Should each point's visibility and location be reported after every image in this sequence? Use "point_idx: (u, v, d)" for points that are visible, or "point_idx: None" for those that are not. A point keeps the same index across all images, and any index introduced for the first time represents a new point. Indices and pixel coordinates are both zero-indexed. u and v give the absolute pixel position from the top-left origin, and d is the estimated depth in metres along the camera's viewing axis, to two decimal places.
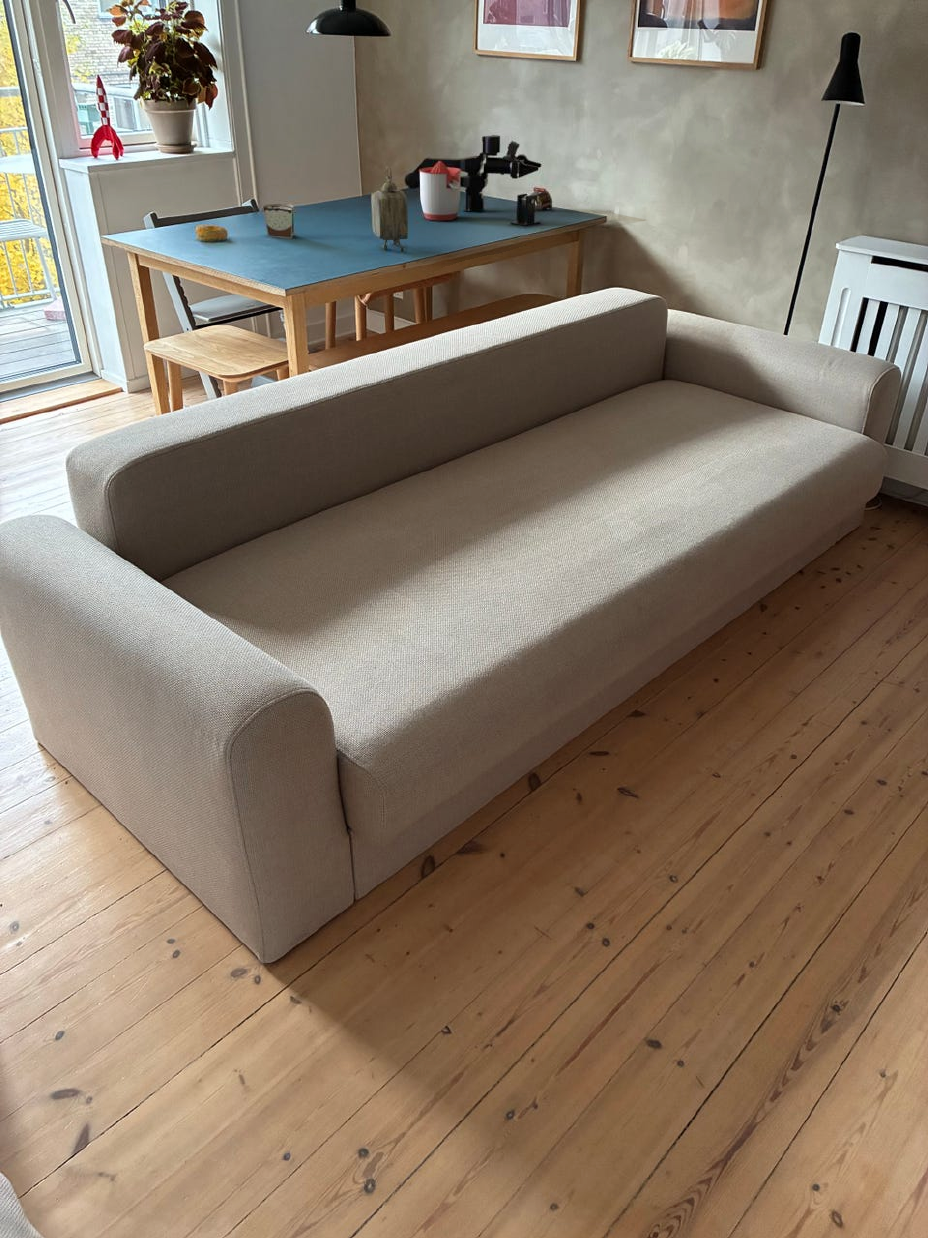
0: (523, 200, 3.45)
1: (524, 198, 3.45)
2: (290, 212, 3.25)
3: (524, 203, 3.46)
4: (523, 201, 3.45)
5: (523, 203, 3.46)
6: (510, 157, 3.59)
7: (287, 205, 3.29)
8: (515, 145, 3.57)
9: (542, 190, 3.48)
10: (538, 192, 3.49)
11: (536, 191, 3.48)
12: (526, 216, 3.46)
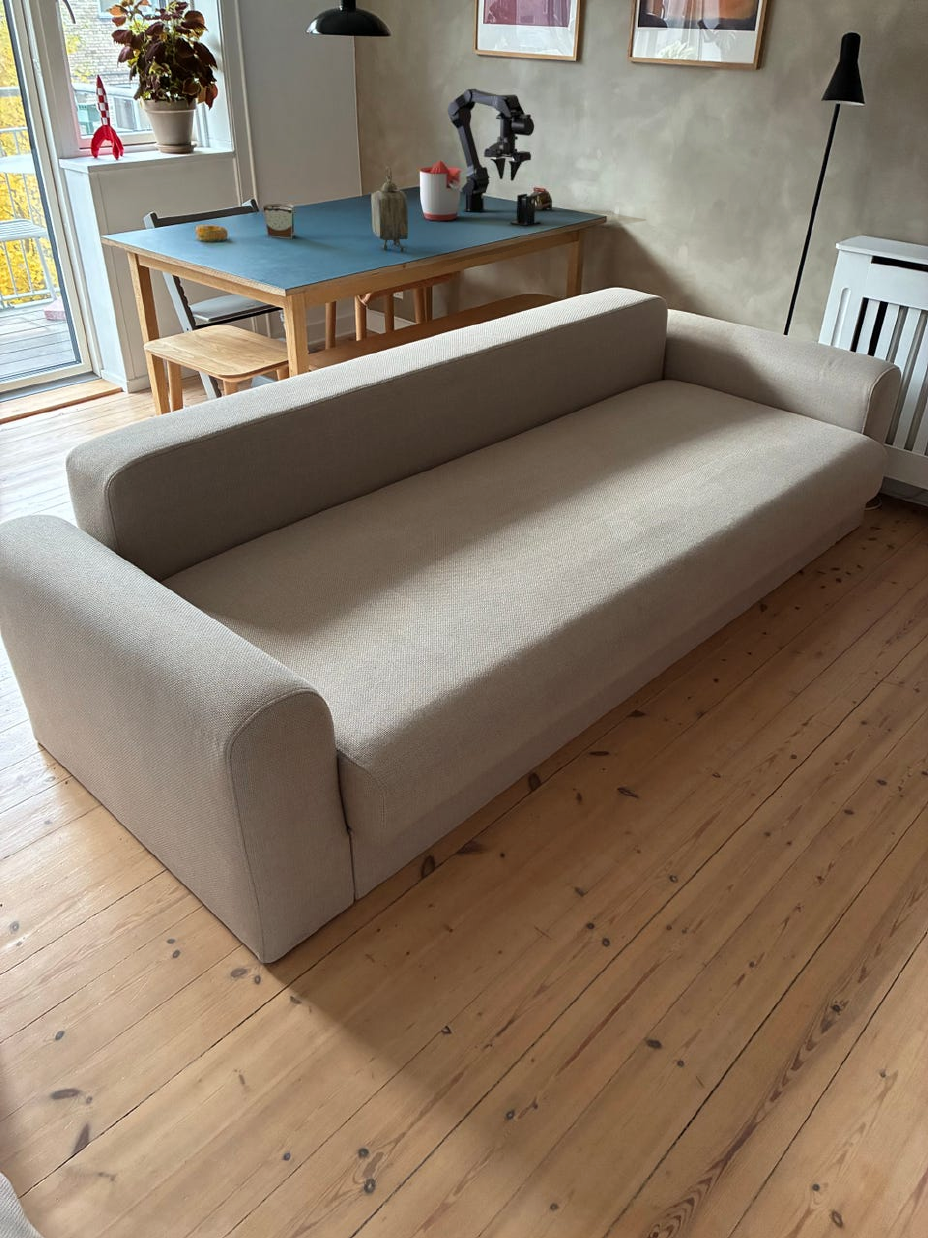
0: (523, 200, 3.45)
1: (524, 198, 3.45)
2: (290, 212, 3.25)
3: (524, 203, 3.46)
4: (523, 201, 3.45)
5: (523, 203, 3.46)
6: None
7: (287, 205, 3.29)
8: (489, 153, 3.49)
9: (542, 190, 3.48)
10: (538, 192, 3.49)
11: (536, 191, 3.48)
12: (526, 216, 3.46)
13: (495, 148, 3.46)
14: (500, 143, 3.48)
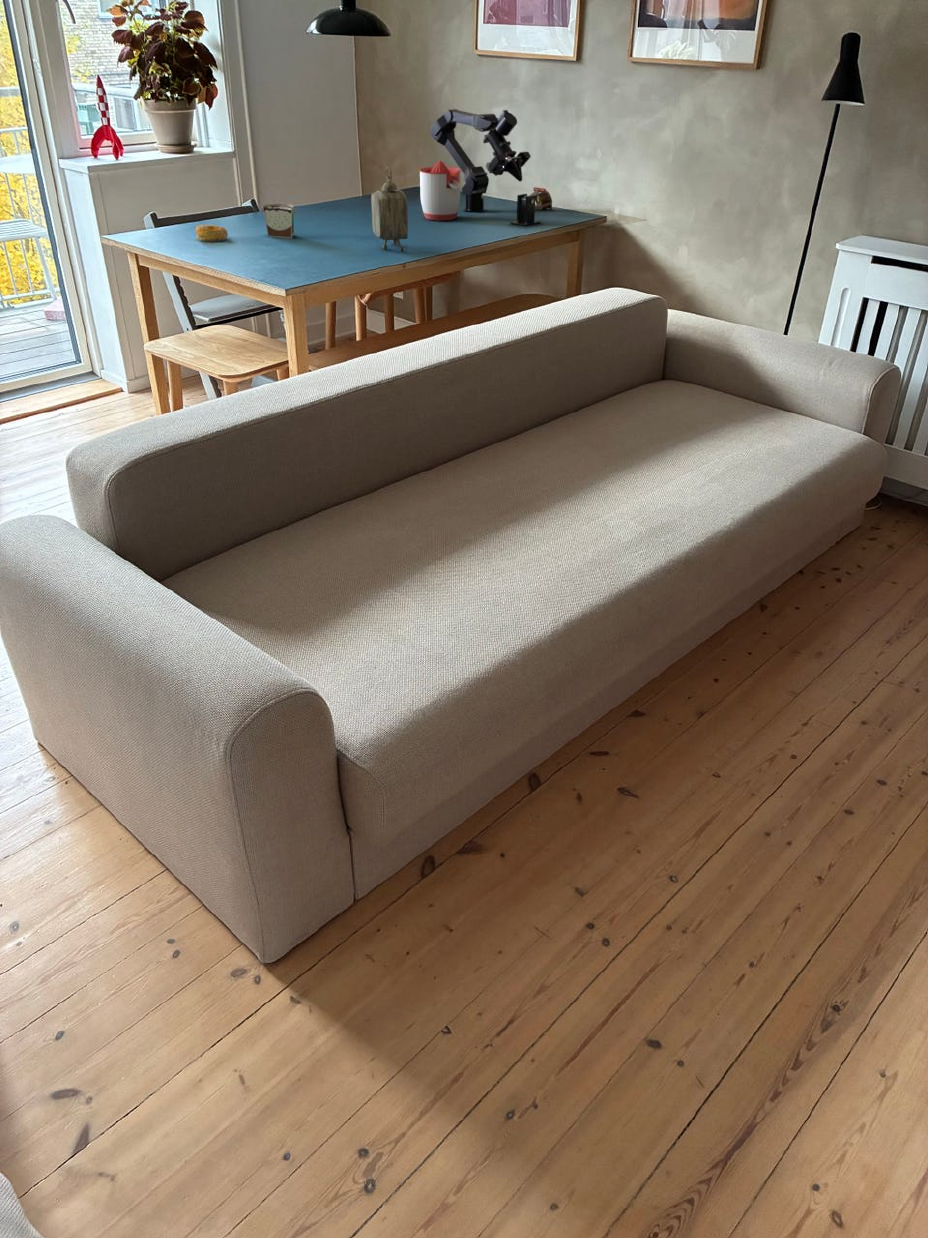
0: (523, 200, 3.45)
1: (524, 198, 3.45)
2: (290, 212, 3.25)
3: (524, 203, 3.46)
4: (523, 201, 3.45)
5: (523, 203, 3.46)
6: None
7: (287, 205, 3.29)
8: None
9: (542, 190, 3.48)
10: (538, 192, 3.49)
11: (536, 191, 3.48)
12: (526, 216, 3.46)
13: None
14: None
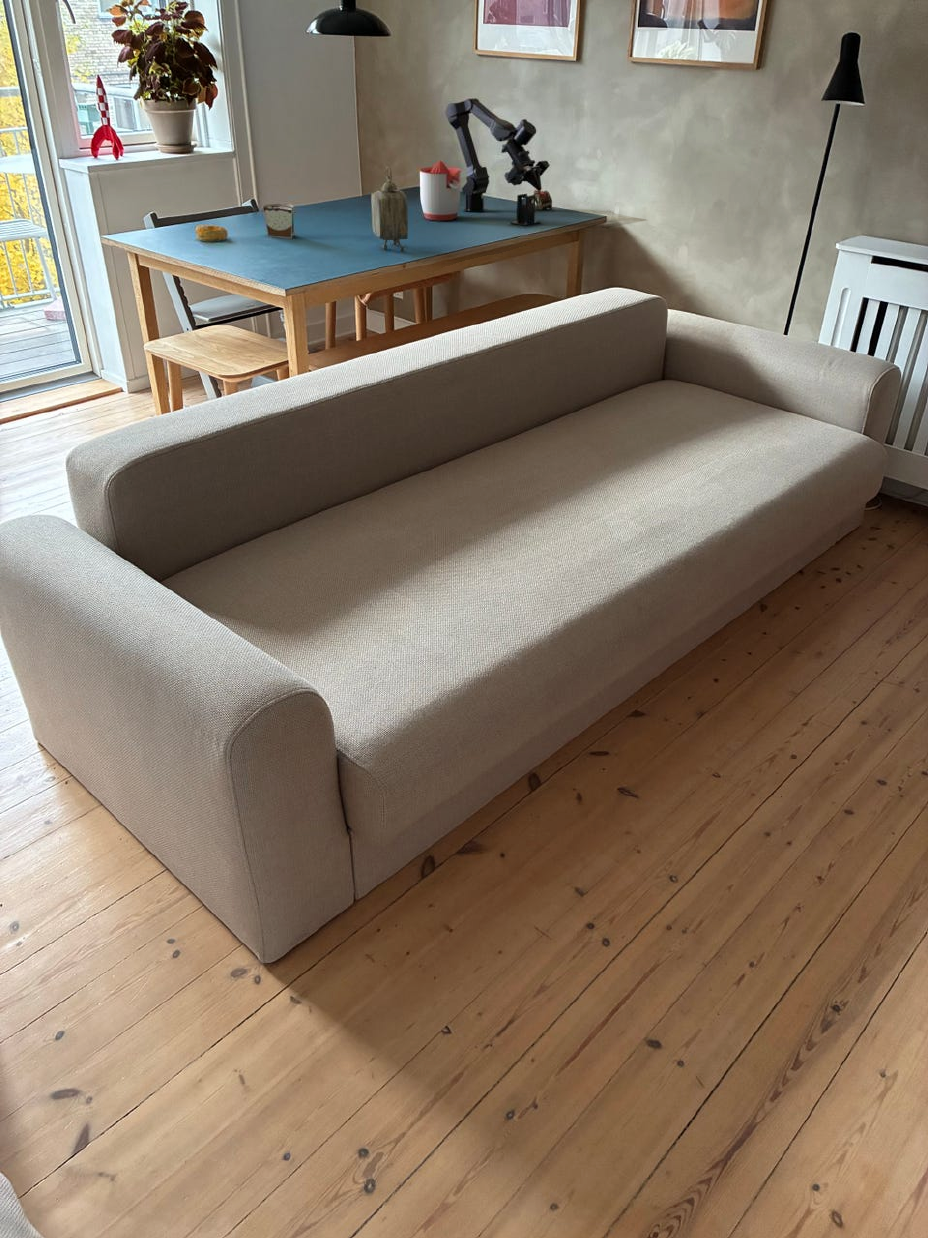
0: (523, 199, 3.45)
1: (524, 197, 3.45)
2: (290, 212, 3.25)
3: (524, 203, 3.46)
4: (523, 200, 3.45)
5: (523, 203, 3.46)
6: None
7: (287, 205, 3.29)
8: None
9: (542, 193, 3.49)
10: (538, 195, 3.49)
11: (536, 193, 3.48)
12: (526, 216, 3.46)
13: None
14: None
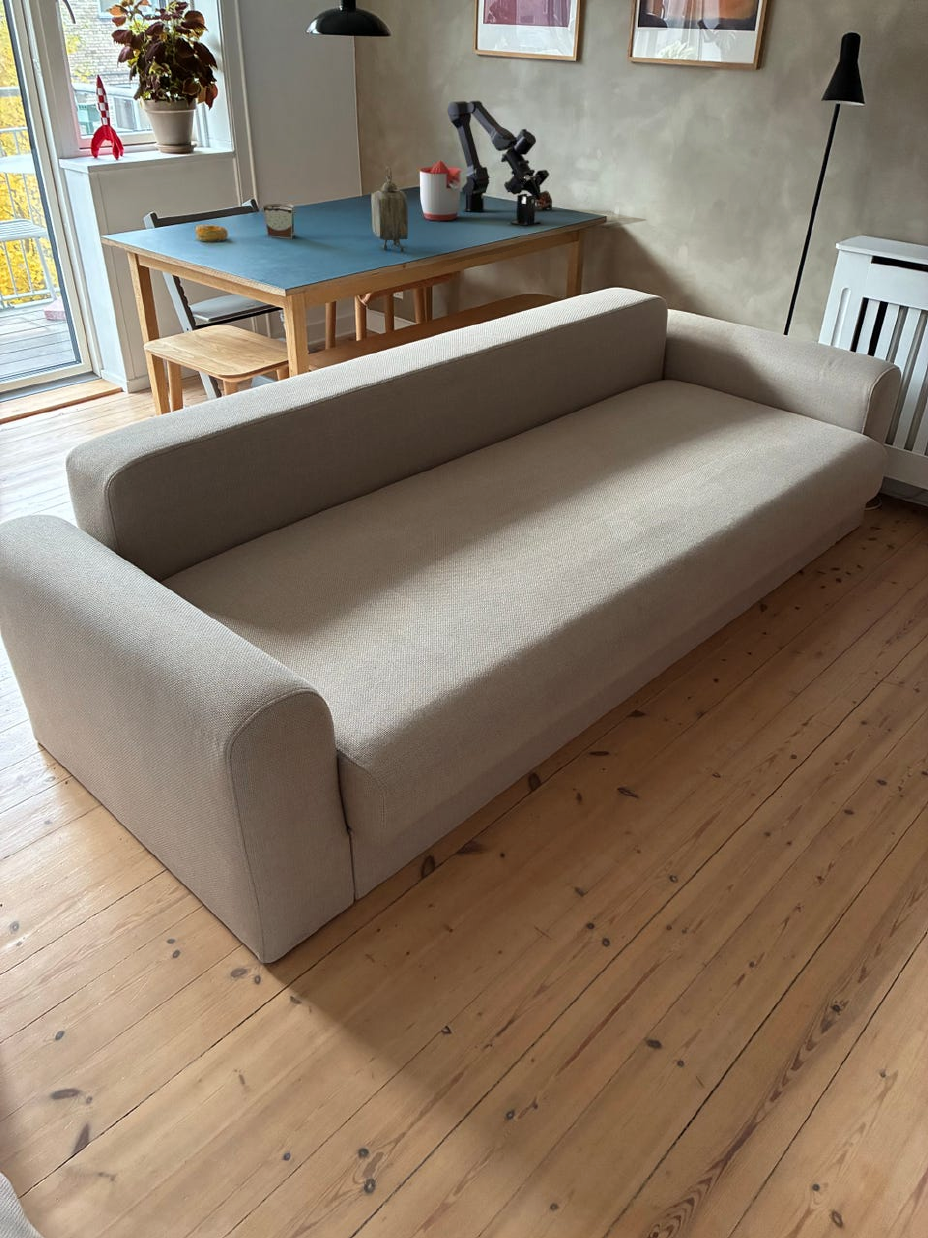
0: (524, 198, 3.45)
1: None
2: (290, 212, 3.25)
3: (524, 201, 3.45)
4: (523, 199, 3.45)
5: (522, 201, 3.46)
6: None
7: (287, 205, 3.29)
8: None
9: (542, 201, 3.50)
10: (538, 202, 3.51)
11: (536, 200, 3.50)
12: (526, 216, 3.46)
13: None
14: None
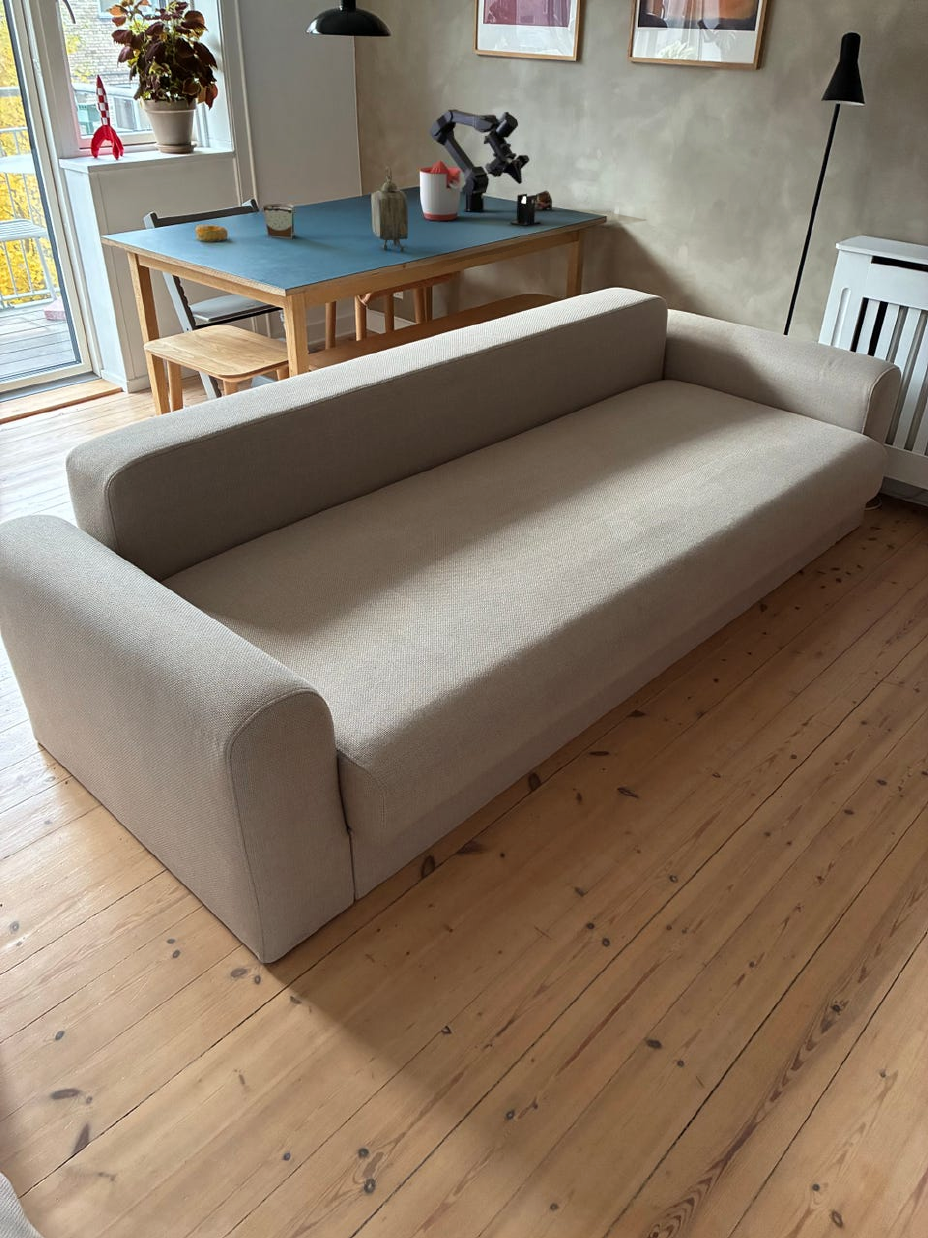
0: (524, 197, 3.45)
1: (525, 196, 3.45)
2: (290, 212, 3.25)
3: (524, 201, 3.45)
4: (523, 198, 3.45)
5: (522, 201, 3.45)
6: None
7: (287, 205, 3.29)
8: None
9: (542, 203, 3.51)
10: (537, 204, 3.51)
11: None
12: (526, 216, 3.46)
13: None
14: None
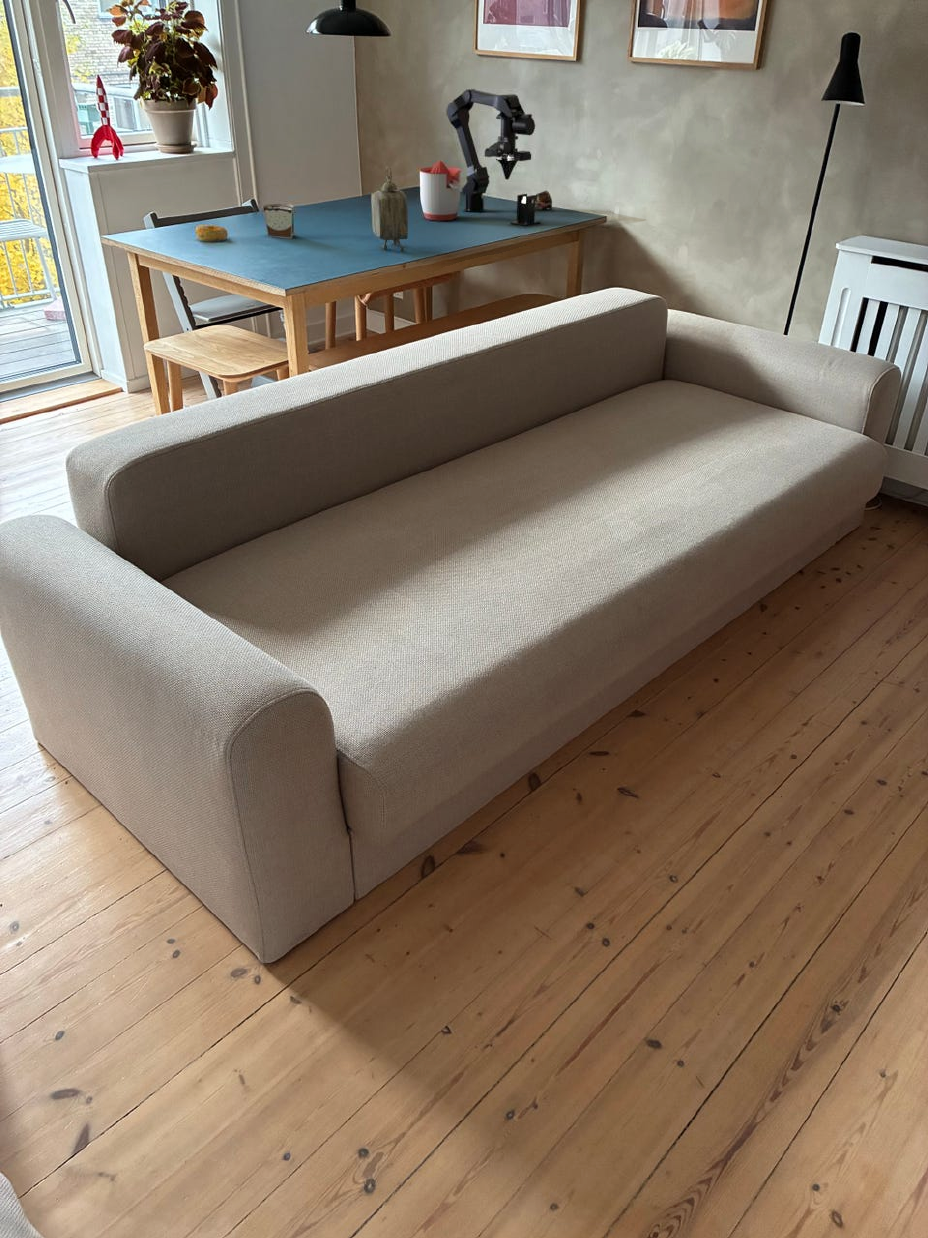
0: (524, 197, 3.45)
1: (525, 196, 3.45)
2: (290, 212, 3.25)
3: (524, 201, 3.45)
4: (523, 198, 3.45)
5: (522, 201, 3.45)
6: None
7: (287, 205, 3.29)
8: (490, 153, 3.50)
9: (542, 203, 3.51)
10: (537, 204, 3.51)
11: None
12: (526, 216, 3.46)
13: (495, 148, 3.47)
14: (500, 143, 3.49)
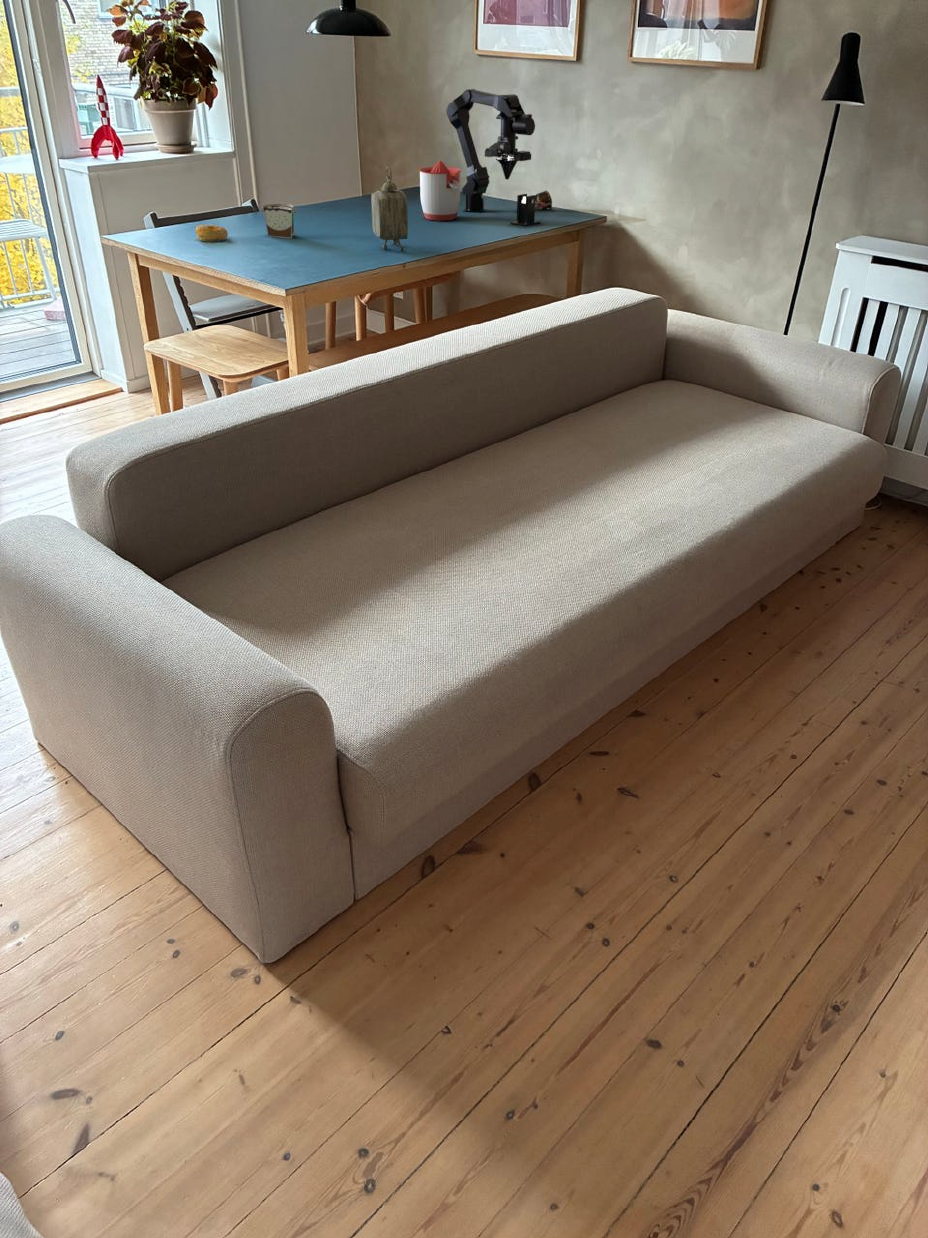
0: (524, 197, 3.45)
1: (525, 196, 3.45)
2: (290, 212, 3.25)
3: (524, 201, 3.45)
4: (523, 198, 3.45)
5: (522, 201, 3.45)
6: None
7: (287, 205, 3.29)
8: (490, 153, 3.50)
9: (542, 203, 3.51)
10: (537, 204, 3.51)
11: None
12: (526, 216, 3.46)
13: (495, 148, 3.47)
14: (500, 143, 3.49)
